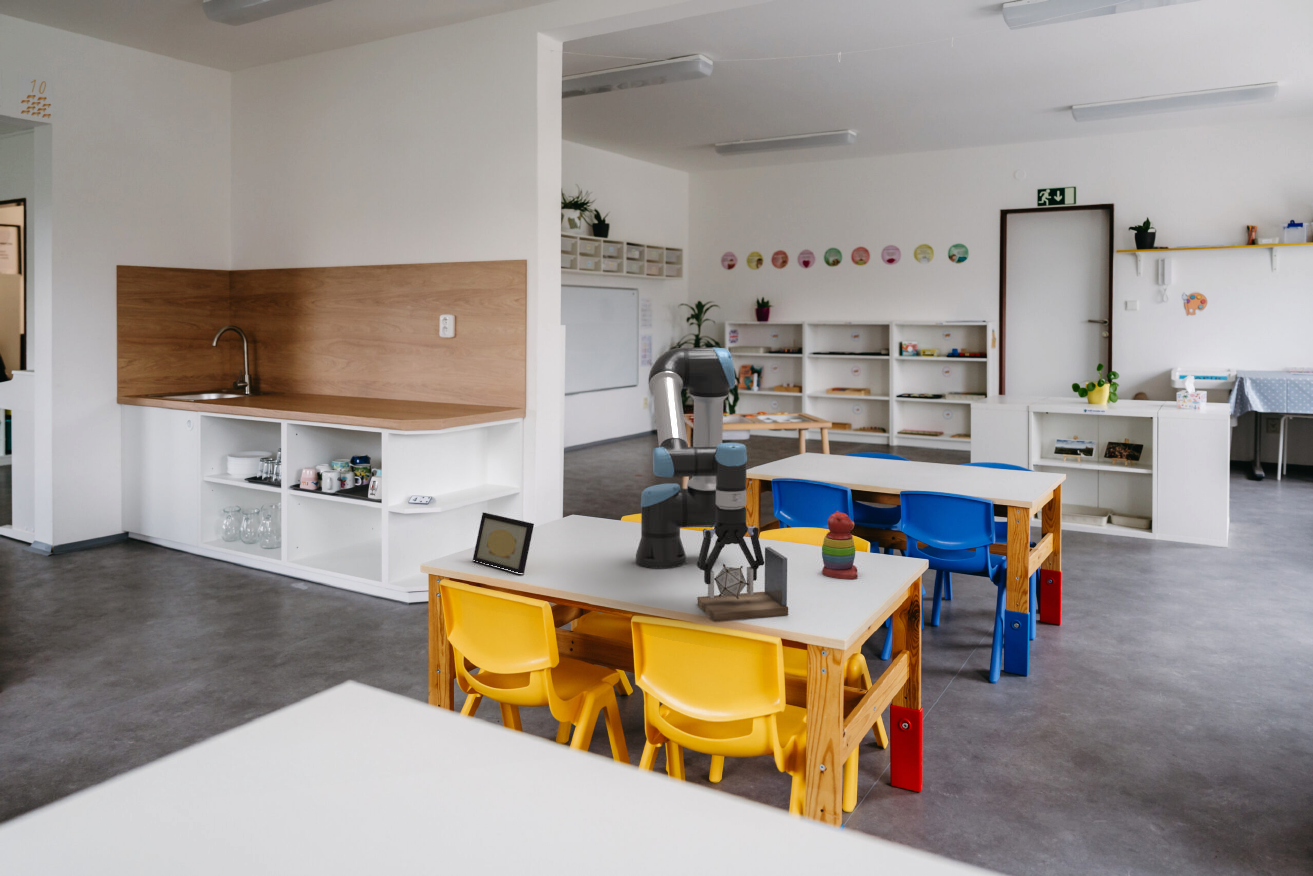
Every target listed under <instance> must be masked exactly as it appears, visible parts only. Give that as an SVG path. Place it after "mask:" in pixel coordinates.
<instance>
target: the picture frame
mask: <svg viewBox="0 0 1313 876" xmlns="http://www.w3.org/2000/svg"><path fill="white" fill-rule="evenodd" d="M481 513H482V514H481V518H480V523H479V527H478V533H477V539H476V543H475V546H474V547H475V548H474V552H473V558H472V561H473V560H475V561H478V562H482V563H485V564H489V565H493V566H497V567H500V568H504V569H508V570H511V571H514V572H518V573H524V574H525V570H526V565H527V560H528V555H529V551H530V546H531V540H532V535H533V531H534V525H535V523H533V522H529V521H524V520H519V519H515V518H510V517H506V516H502V515H498V514H493V513H489V512H488V513H487V512H481Z"/></svg>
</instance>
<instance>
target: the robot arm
mask: <svg viewBox="0 0 1313 876" xmlns="http://www.w3.org/2000/svg"><path fill="white" fill-rule="evenodd" d="M735 372H736V371H735V366H734V361H733V357H732V353H731V352H730V351H729V350H728V349H727V348H725V347H723V348H722V347H685V348H684V347H676V348H675V347H674V348H672V349H669V350H668V351H665V352H664V353H663V354H661V355H660V356H659V357H658V358H657V359H656V360H655V362H654V363H653V365H652V366H651V369H650V372H649V375H648V388H649V391H650V393H651V395H653V401H654V411H655V422H656V430H657V441H658V447H655V448H654V449H653V450H652V472H653V475H654V476H655V477H660V478H682V477H683V478H686V477H691V478H690V479H689V480H688V481H687V484H686V486H687V487H686V488H681V485H680V484H678V483H676V482H675V483H661V484H655V485H651V486H648V487H646V488H645V489H644V490H643V491H642V492H641V499H640V500H641V501H640V507H641V508H640V509H641V510H640V511H641V513H640V514H641V515H640V516H641V519H640V520H641V523H640V524H641V526H640V529H641V530H640V531H641V534H640V535H641V537H640V539H639V543H638V547H637V550H636V553H635V563H636V564H637V565H638V566H641V567H644V568H652V569H670V568H677V567H681V566H683V565H685V564H686V562H687V554H686V550H685V547H684V545H683V542H682V538H681V528H682V529H683V528H684V529H685V528H704V529H702V535H703V539H702V543H701V546H700V547H701V548H700V550H699V555H698V559H697V563H696V567H697V568H698V569H699V570H701V571H704V572H703V575H704V577H703V582H704V583H705V584H706V585H707V596H709V597H710V598H714V596H715V580H714V578H715V572H714V570H713V568H714V566H715V564H716V562H717V559H718V558H719V556H720V553H721V551H722V550H723V549H724V547H725V546H726V545H732V544H733V545H738V546H739V547H740V550H741V551H742V553H743V555H744V557H745V558H746V561H747V562H748V564H749V565H748V566H746V583H749V584H750V585H746V593H749V594H750V595H753V592H754V582H755V581H757V580H758V576H757V575H758V569H759V567H762V566H765V558H764V556H763V552H762V548H761V544H760V541H759V528H758V527H757V526H755V525H750V526H747V508H746V507H745V506H746V505H747V466H748V465H747V461H748V456H747V446H746V445H745V444H743V443H739V442H723V433H724V432H723V430H724V429H723V428H724V400H725V399H726V398H727V397H729V395H730V389H731V390H732V389H734V388H735V385H736V373H735ZM683 389H684V390H686V389H687V390H688V395H689V396H690V397H691V398H692V399H693V432H692V433H693V437H692V442H693V443H692V446H689V443H688V436H687V429H686V423H685V421H686V420H685V415H684V408H683V407H684V406H683V400H682V390H683ZM707 528H709V529H707ZM710 528H711V529H710ZM747 532H748V535H749V537H750V540H751V545H752V549H753V553H754V556H753V554H752V553H751V551H750V549H749V547H748V545H747V542H746V540H745V538H744V537H745V536H746V534H747ZM714 534H715V535H716V537H717V538H716V540H715V543H714V546H713V547H712V549H711V551H710V548H711V542H712V539H713V538H714ZM709 551H710V553H709ZM708 554H709V556H708ZM754 557H755V558H754Z"/></svg>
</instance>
